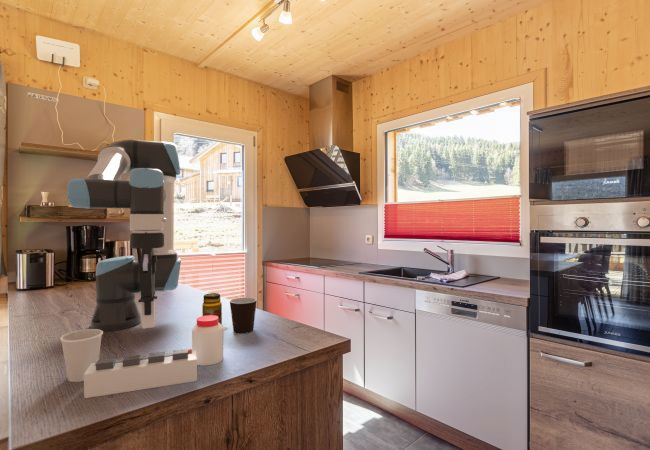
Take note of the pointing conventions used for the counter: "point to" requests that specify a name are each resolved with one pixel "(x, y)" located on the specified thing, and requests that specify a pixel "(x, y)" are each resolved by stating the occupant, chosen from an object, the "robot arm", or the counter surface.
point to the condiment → (212, 306)
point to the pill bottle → (208, 340)
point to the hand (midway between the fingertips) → (148, 326)
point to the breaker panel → (140, 372)
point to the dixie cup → (80, 351)
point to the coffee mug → (243, 314)
